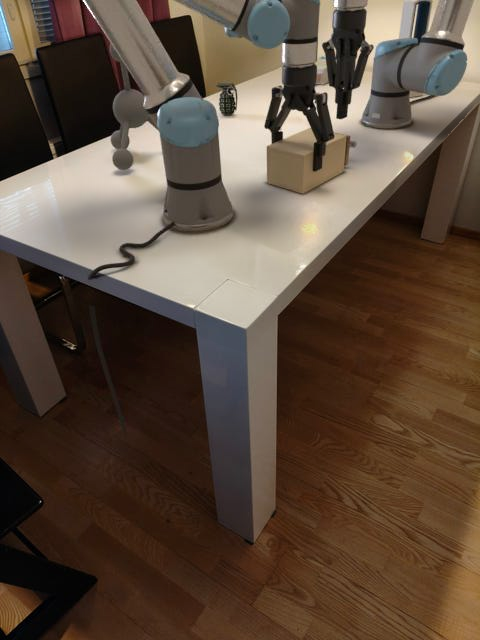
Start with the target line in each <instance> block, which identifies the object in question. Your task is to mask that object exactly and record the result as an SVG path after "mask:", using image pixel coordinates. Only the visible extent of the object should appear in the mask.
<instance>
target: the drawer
mask: <svg viewBox="0 0 480 640" xmlns="http://www.w3.org/2000/svg"><path fill="white" fill-rule="evenodd" d="M333 132H334V131H333ZM334 133H337V134H342V135H347V137H346V150H345V161H344V167H345V166H348V165H349V157H350V149H351V148H352V149H356V147H357V146H358V145H357V144H358V142H357V141H354V140H351V135H349V134H344V133H339V132H336V131H335V132H334Z"/></svg>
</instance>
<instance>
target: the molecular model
mask: <svg viewBox="0 0 480 640" xmlns="http://www.w3.org/2000/svg"><path fill="white" fill-rule="evenodd" d="M109 53H110V55H111V57H112V59H113V60H115V61H116V62H118V63H120V70H121V76H122V81H123V86H124V89H123V90H121V91H119V92H118V93H117V94H116V95H115V97H114V99H113V102H112V112H113V115H114V117H115V119H116V121H117V122H118V123H120V127H119V129H118V130H115V131H114V132H113V133H111V136H110V144H111V145H112V147H113V148H114V149H115V151H114V152H113V153H112V156H111V160H112V163H113V165H114V167H115V168H117V169H118V170H121V171H128V170H129V169H131V167H132V166H133V164H134V156H133V153H131V151H130V150H128V147H129V146H130V141H131V140H130V136H129V133H130V129H138V128H141V127H142V126H144V125H145V123H147V122H148V123H149V124H150V125H151V126H152V127H154V129H156V130H157V131H158V128H157V126H156V125H155V123H154V122H153V120H152V119H151V117H150V116H149V114H148V113H147V111H146V109H145V108H144V99H145V95H144V93H143V92H140V91H139V90H137V89H134V88H131V83H130V77H129V70H128V69H127V67H126V66H125V64H124V63H123V61H122V59H121V58H120V56H119V55H118V53H117V52H116V50H115V49H114V47H113V46H112V44H111V43H110V44H109Z"/></svg>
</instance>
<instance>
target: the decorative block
mask: <svg viewBox="0 0 480 640" xmlns="http://www.w3.org/2000/svg"><path fill="white" fill-rule="evenodd" d="M336 62H337V60H336ZM314 64H316V66H317V79H316V84H315V85H325V84H327V83H328V84H329V81H328V73H327V65H326V57H325V56H320V57H317V61H316V62H315V63H314Z"/></svg>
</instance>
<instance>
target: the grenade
mask: <svg viewBox="0 0 480 640" xmlns="http://www.w3.org/2000/svg"><path fill="white" fill-rule="evenodd" d="M215 87H217V88H219V89H221V93H219V97H218V101H219V102H218V106H219V108H218V109H219V112H220V114H221V115H222V116H224V117H231V116H233V115H234V113H235V112H236V111H237V108H238V89H237V87H236V85H235V84H234V83H233V82H218V83H217V84H216V86H215ZM232 91H233V92H232ZM234 94H235V96H234Z"/></svg>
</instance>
